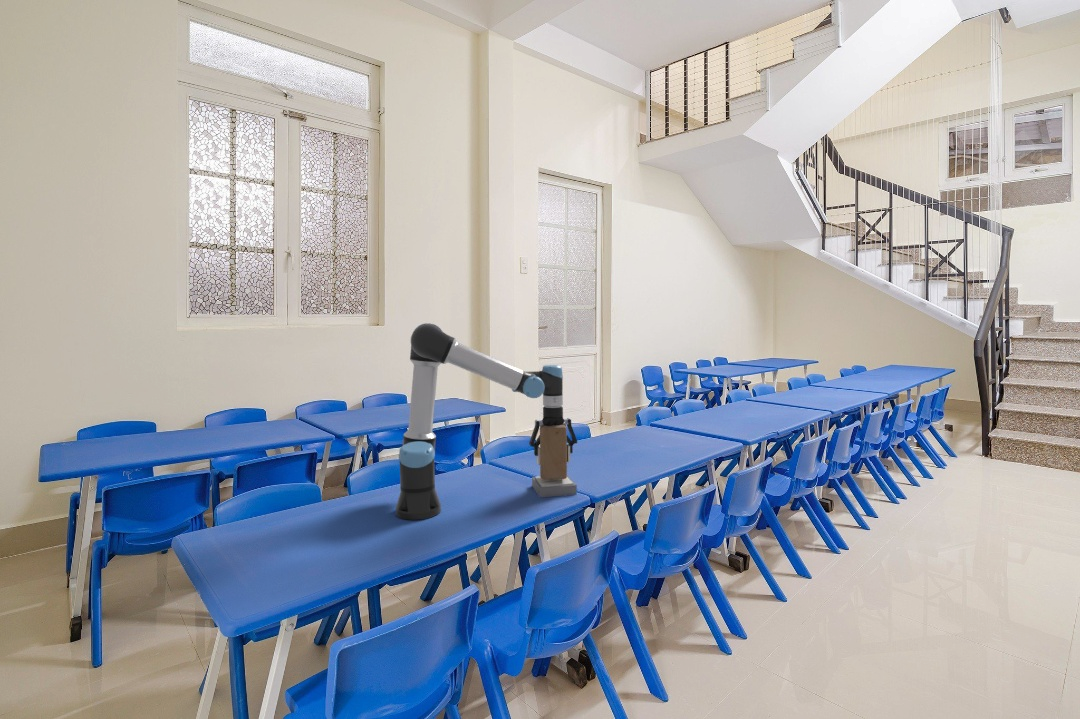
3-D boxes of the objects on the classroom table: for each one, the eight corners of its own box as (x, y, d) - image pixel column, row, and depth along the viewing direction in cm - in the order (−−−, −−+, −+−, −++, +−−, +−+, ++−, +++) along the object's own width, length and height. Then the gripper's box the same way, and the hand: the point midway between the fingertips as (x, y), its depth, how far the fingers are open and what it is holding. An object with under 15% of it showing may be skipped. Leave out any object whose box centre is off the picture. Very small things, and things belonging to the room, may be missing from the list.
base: (540, 497, 211) (540, 486, 211) (532, 486, 225) (532, 476, 225) (576, 494, 214) (576, 483, 214) (566, 483, 228) (566, 473, 228)
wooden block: (567, 479, 214) (566, 427, 212) (540, 479, 214) (539, 427, 213) (566, 472, 224) (565, 421, 222) (540, 472, 224) (540, 421, 223)
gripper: (524, 409, 210) (525, 467, 212) (585, 406, 216) (585, 463, 218) (520, 406, 218) (521, 462, 220) (579, 402, 223) (580, 458, 225)
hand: (553, 462), depth 219 cm, fingers closed on wooden block, 11 cm apart
